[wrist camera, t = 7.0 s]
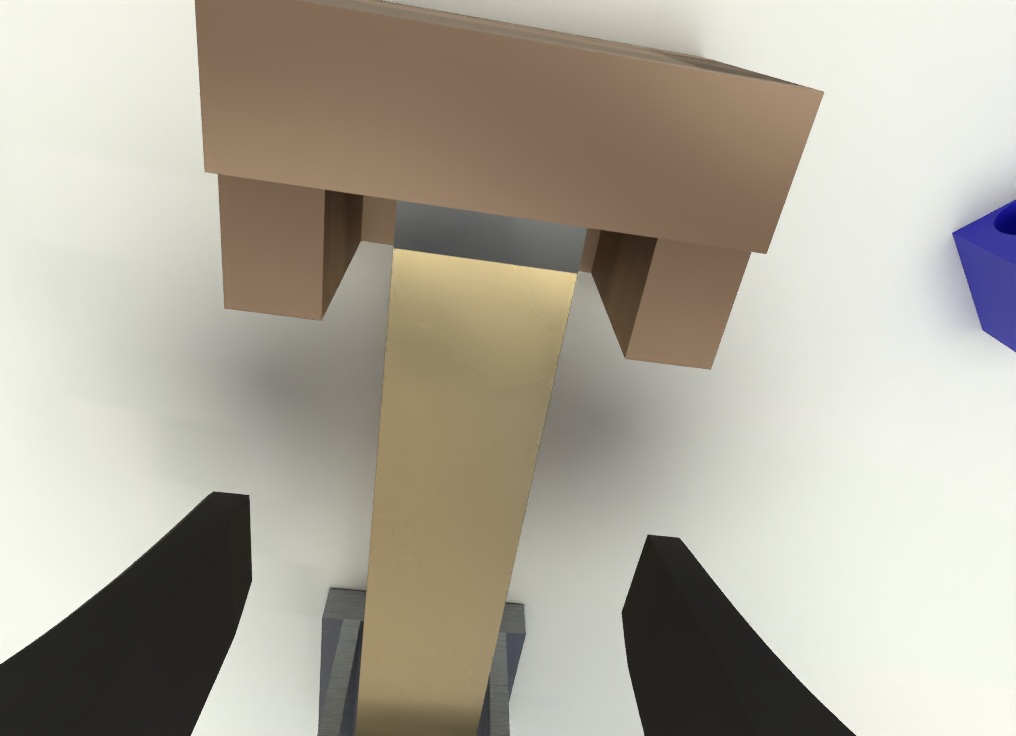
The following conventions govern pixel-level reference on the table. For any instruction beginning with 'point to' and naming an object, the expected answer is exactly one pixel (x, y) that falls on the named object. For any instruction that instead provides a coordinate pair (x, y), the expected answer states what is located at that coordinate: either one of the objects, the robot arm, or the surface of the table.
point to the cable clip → (992, 270)
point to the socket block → (490, 154)
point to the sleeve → (345, 662)
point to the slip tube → (456, 454)
